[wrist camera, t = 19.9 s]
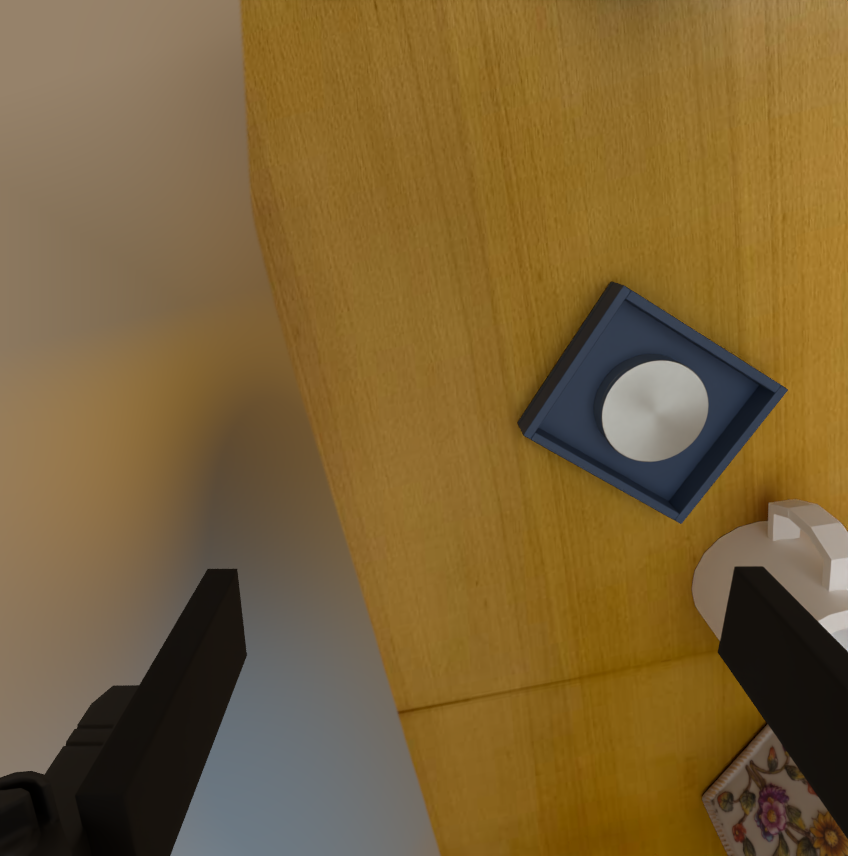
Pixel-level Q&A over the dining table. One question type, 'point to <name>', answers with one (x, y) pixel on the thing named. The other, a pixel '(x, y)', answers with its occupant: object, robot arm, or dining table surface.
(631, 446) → the lid
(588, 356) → the tray
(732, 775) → the decorative jar
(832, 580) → the mug
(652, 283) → the dining table surface
